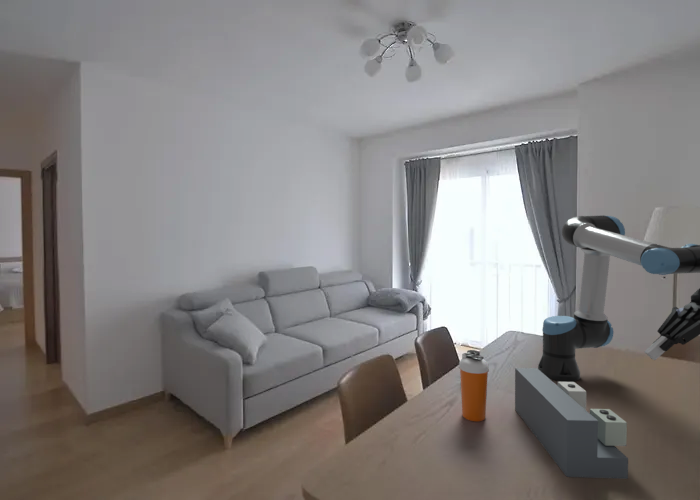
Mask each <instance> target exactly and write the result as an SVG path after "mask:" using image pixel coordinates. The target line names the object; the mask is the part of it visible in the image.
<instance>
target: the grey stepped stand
mask: <svg viewBox="0 0 700 500" xmlns="http://www.w3.org/2000/svg"><path fill="white" fill-rule="evenodd" d="M514 369H515V370H514V379H515V380H514V390H515V391H514V410H515V412H516V413H517V414H518V415H519V417H520V418H521V419H522V420H523V422H524V423H525V424H526V426H527V427H528V429H529V430H530V431H531V433H532V434H533V435H534V436H535V437H536V439H537V440H538V442H539V443H540V444H541V446H542V447H543V448H544V449H545V450H546V452H547V453H548V454H549V456H550V457H551V458H552V459H553V461H554V463H556V465H557V466H558V467H559V469H560V470H561V471H562V473H563V474H564V475H565V476H566V477H567V478H568V477H569V478H590V479H591V478H592V479H593V478H595V479H596V478H597V479H625V480H627V479H628V478H629V457H627V456H626V455H625V454H624V453H623V452H622V451H621V450H620V449H618V447H617V446H605V445H604V444H603V443H602V442H601V441H600V440H599V439H598V420H597V419H595V418H594V417H593V416H592V415H591V414H590V412H589V411H587V409H586V410H585V409H584V408H583V407H581V406H580V405H579V404H578V403H577V402H576V401H575V400H573V399H572V398H571V397H570V396H569V395H568V394H566V393H565V392H564V391H563V390H562V389H561V388H559V387H558V386H557V384H556V383H555V382H554V380H553V381H552V379H549V378H548V377H547V376H546V375H544V374H543V373H542V372H541V371H540V370H539V369H538V367H515V368H514Z"/></svg>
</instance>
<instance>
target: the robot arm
mask: <svg viewBox="0 0 700 500" xmlns="http://www.w3.org/2000/svg"><path fill="white" fill-rule="evenodd" d="M561 235H562V238H563V240H564V241H565V242H566V243H567V244H568V245H571V246H574V247H577V248H579V249H580V250H581V251H582V252H583V253H584V256H583V262H582V263H583V264H582V265H583V266H582V274H581V285H580V296H579V306H578V309H577V310H576V311H574V312H573V317H572V316H568V315H554V316H553V315H552V316H549V317H547V318H545V319H543V322H542V329H541V330H542V354H541V356H540V357H541V358H540V360H539V362H538V364H537V365H538V366H537V369H539V370H540V371H541V372H542V373H543V374H544V375H546V376H547V377H548V378H549V379H550V380H551V381H552V380H553V381H557V382H577V381H579V380H580V379H581V371H580V368H579V365H578V362H577V359H576V349H577V350H580V349H591V348H592V349H597V348H600V347H605V346H608V345H609V344H611V342H612V340H613V337H614V328H613V327H612V323H611V322H610V321H609V319H608V316H607V315H606V314H605V306H606V305H605V304H606V296H607V294H606V293H607V285H608V278H609V271H610V270H609V268H610V261H611V256H612V257H614V258H616V259H620V260H623V261H625V262H626V261H627V262H630V263H632V264H634V265H638V266H641V267H642V269H644V270H645V271H646V272H647V273H649V274H650V275H659V276H660V275H662V276H667V275H675V274H676V275H678V274H696V273H697V274H699V273H700V244H695V243H686V244H685V245H683V246H681V247H669V246H664V245H661V244H657V243H654V242H650V241H646V240H643V239H640V238H639V239H638V238H636V237H632V236H629V235H628V236H627V235H626V229H625V226H624V224H623V222H621V220H620V219H619V218H617V217H616V216H612V215H604V214H603V215H578V216H572V217H571V218H569V219H568V220H567V221H565V223H564V224H563V226H562V229H561ZM657 333H659V337H658V338H657V339H656V340H654V341H653V343H652V344H651V345H650V346H648V348H647V349H645V350H644V351H643V352H644V354H646V355H647V356H648V357H649V358H650V359H651V360H652V361H656V360H657V359H658V358H659V357H661V356H662V355H664V353H666V352H667V351H669V350H670V349H671V348H672V347H673V346H674V345H678V344H681V345H683V346H684V345H686V344H687V343H689V342H691V341H692V340H694V339H695V338H697V337H699V336H700V287H699V288H698V289H697V290H696V291H695V292H694V293H693V294H692V295H690V302H689V303H687V304H685V305H684V306H683V307H680V308H678V306H673V307H672V309H671V312H670V314H669V315H668V316H667V317H666V318H665V320H664V321H663V322H662V324H661V325H660V326H659V328H658V329H657Z"/></svg>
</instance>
